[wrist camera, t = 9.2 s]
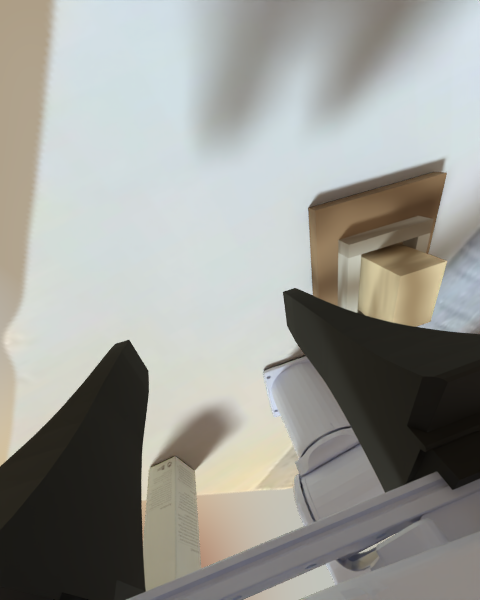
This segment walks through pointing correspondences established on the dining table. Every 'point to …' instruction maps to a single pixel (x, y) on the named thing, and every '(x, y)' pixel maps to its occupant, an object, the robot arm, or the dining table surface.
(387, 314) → the beech block
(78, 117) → the dining table surface
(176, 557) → the skincare box
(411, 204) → the keyed socket board
